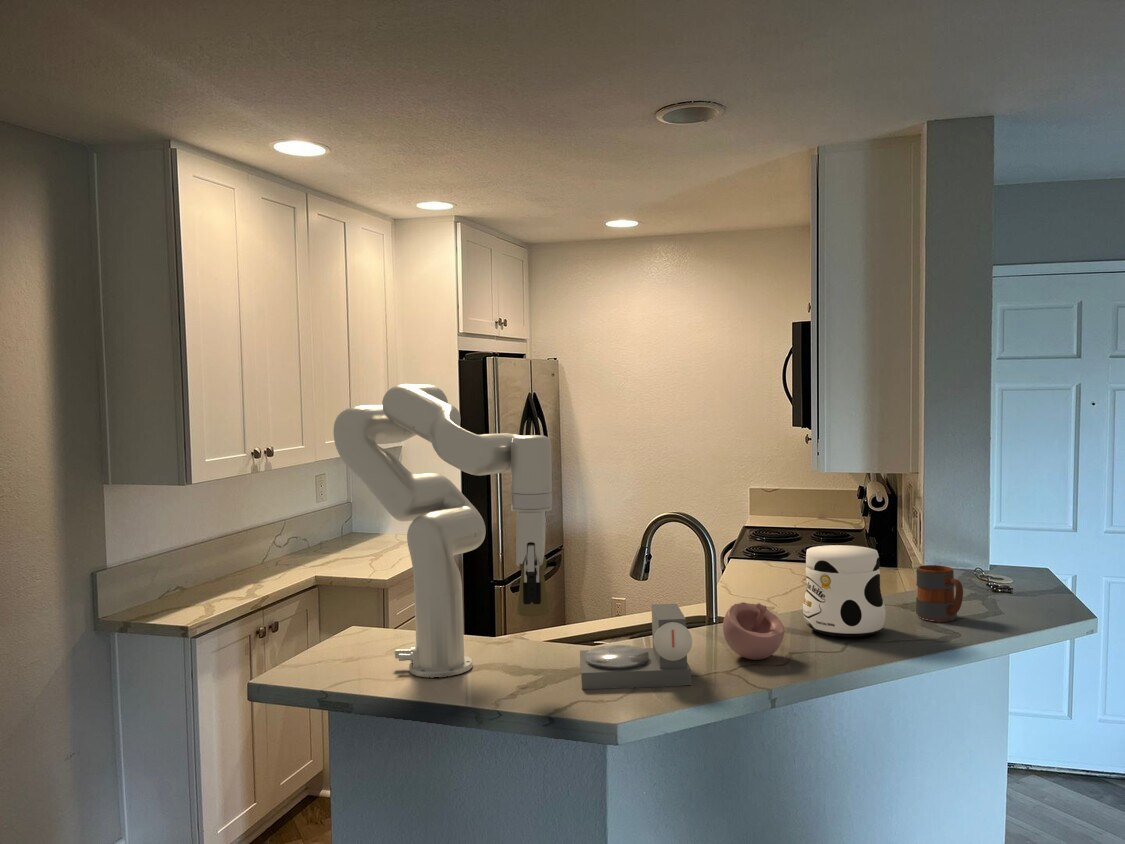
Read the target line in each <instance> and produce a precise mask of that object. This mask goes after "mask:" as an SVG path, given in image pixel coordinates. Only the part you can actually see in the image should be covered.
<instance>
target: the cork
mask: <svg viewBox="0 0 1125 844" xmlns="http://www.w3.org/2000/svg"><path fill="white" fill-rule="evenodd" d="M527 564H528V562H526V565H527ZM534 565H537V562H534ZM518 568H519V570H520V571H521V574H520V580H519V581H520V582H519V591H518V597H517V608H516V614H517V615H519V616H521V617H541V616H546V615H548V614H549V613H550V608H549V607H550V606H549V601H548V600H549V599H548V593H547V587H546V579H545V572H544V571H545V569H546V568H547V558H546V556H545V555H544V558H543V564H542V565H541V566H539V582H541V603H540V604H534V603H532V602H531V604H524V603H523V582H524V561H523V564H520V566H518ZM535 570H536V568H535Z"/></svg>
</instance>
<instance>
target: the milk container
mask: <svg viewBox="0 0 1125 844" xmlns="http://www.w3.org/2000/svg"><path fill="white" fill-rule="evenodd" d="M805 552H806V554H805V566H806V567H805V577H806V578H805V579H806V586H805V587H806V590H805V595H804V599H803V602H802V612H803V613H802V615H803V618H804V622H805V624H806V625H807V627H808V628H809V629H811V630H813V631H814V632H818V633H820V634H823V635H827V636H833V637H842V638H859V637H866V636H870V635H871V636H872V635H875V634H877V633H879V632H880V631H882V630H883V628H884V626H885V621H886V613H887V612H886V606H885V602H884V599H883V596H882V591H881V570H880V566H881V564H880V563H881V562H880V556H879V553H878V550H877V549H874V548H871V547H865V546H861V545H846V544H845V545H841V544H840V545H839V544H836V545H831V544H829V545H817V546H812V547H809V548H807V549H806V551H805Z"/></svg>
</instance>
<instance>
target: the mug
mask: <svg viewBox="0 0 1125 844" xmlns="http://www.w3.org/2000/svg"><path fill="white" fill-rule="evenodd" d="M954 577H955V574H954V570H953V568H952V567H949V566H945V565H937V564H935V565H933V564H928V565H927V564H926V565H920V566H919V565H918V566H917V568H916V587H917V588H916V589H917V596H916V599H915V600H916V601H915V613H916V615H917V617H918V616H919V617H921V618H924V619H928V620H934V621H951V622H954V621H955V620H954V619H956V618H957V616H958V612H959V611H960V609H961V607H962V604H963V603H962V602H963V599H964V598H963V597H964V588H963V584H962V583H961V581H960V580H958V579H957V578H954ZM919 617H918V618H919ZM953 620H954V621H953Z"/></svg>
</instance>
